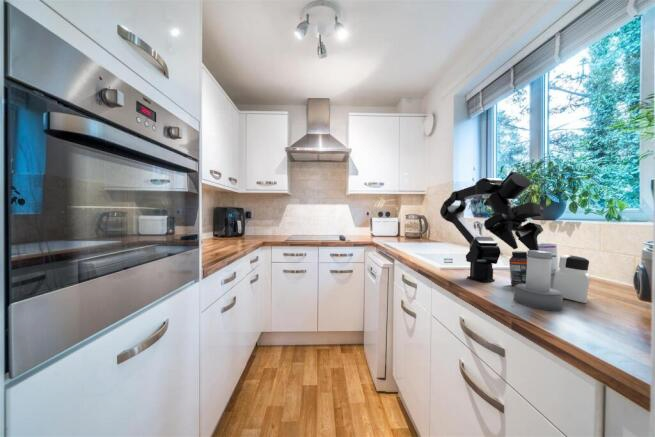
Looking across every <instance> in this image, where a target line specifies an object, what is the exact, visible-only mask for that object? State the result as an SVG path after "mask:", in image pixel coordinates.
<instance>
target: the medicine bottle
mask: <svg viewBox="0 0 655 437" xmlns="http://www.w3.org/2000/svg"><path fill="white" fill-rule="evenodd" d="M589 264H590V260H589V259H587V258H585V257H582V256H577V255H570V254H564V255H560V256H559V261H558V266H559V269H556V271H555V275H554V282H553V289H555V290H558V291H560V292H561V293H562V294H563V299H566V300H570V301H574V302H578V303H581V304H582V303H583V304H586V303H587V301H588V294H589V288H590V284H591V283H590V282H591V281H590V279H591V278H590V274H588V271H589Z"/></svg>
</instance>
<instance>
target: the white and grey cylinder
mask: <svg viewBox="0 0 655 437" xmlns="http://www.w3.org/2000/svg"><path fill="white" fill-rule="evenodd" d="M526 252H527V271H526V288H528V289H532V290H536V291H543V292H549V291H550V278H551V259H552V253H551V252H546V251H537V250H529V249H527V251H526Z"/></svg>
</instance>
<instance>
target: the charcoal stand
mask: <svg viewBox="0 0 655 437" xmlns="http://www.w3.org/2000/svg"><path fill="white" fill-rule="evenodd" d="M513 292H514V294H513V300H514V301H515V303H518V304H520V305H522V306H525V307H529V308H532V309H537V310H543V311H551V312H558V311H562V310H563V305H564V304H563V303H564V302H563V301H564V298H563V294H562V293H561V292H560V291H558V290H555V289H552V288H550V291H549V292H543V291H536V290H532V289H528V288H526V284H518V285H516V286H514V291H513Z"/></svg>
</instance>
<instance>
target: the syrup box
mask: <svg viewBox="0 0 655 437" xmlns="http://www.w3.org/2000/svg"><path fill="white" fill-rule="evenodd" d="M538 249H539V251H546V252H551V253H552V259H551V278H550V288H552V289H553V282H554V275H555V271H556V269H560V268H559V259H558V258H559V257H558V256H559V254H558V246H557V244H556V243H552V242H538Z"/></svg>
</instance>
